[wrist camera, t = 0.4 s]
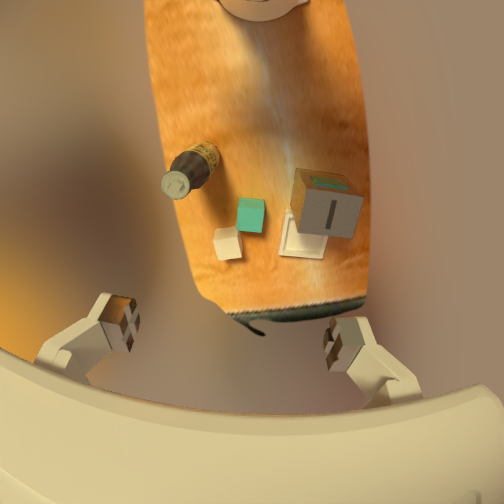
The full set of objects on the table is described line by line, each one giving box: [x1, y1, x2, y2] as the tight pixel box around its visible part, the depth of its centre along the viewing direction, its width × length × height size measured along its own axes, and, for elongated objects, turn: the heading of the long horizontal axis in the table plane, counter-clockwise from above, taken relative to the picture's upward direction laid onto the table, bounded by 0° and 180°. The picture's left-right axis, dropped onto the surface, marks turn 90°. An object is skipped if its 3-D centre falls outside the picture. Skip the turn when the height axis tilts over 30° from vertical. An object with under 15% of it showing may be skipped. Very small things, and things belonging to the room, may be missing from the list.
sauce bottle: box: [161, 142, 220, 200], centre depth 42 cm, size 7×6×20 cm
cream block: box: [213, 226, 243, 261], centre depth 58 cm, size 5×5×5 cm
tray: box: [278, 209, 328, 259], centre depth 58 cm, size 10×10×2 cm
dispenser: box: [290, 168, 364, 239], centre depth 49 cm, size 8×10×12 cm
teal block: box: [236, 198, 265, 233], centre depth 54 cm, size 5×5×5 cm
